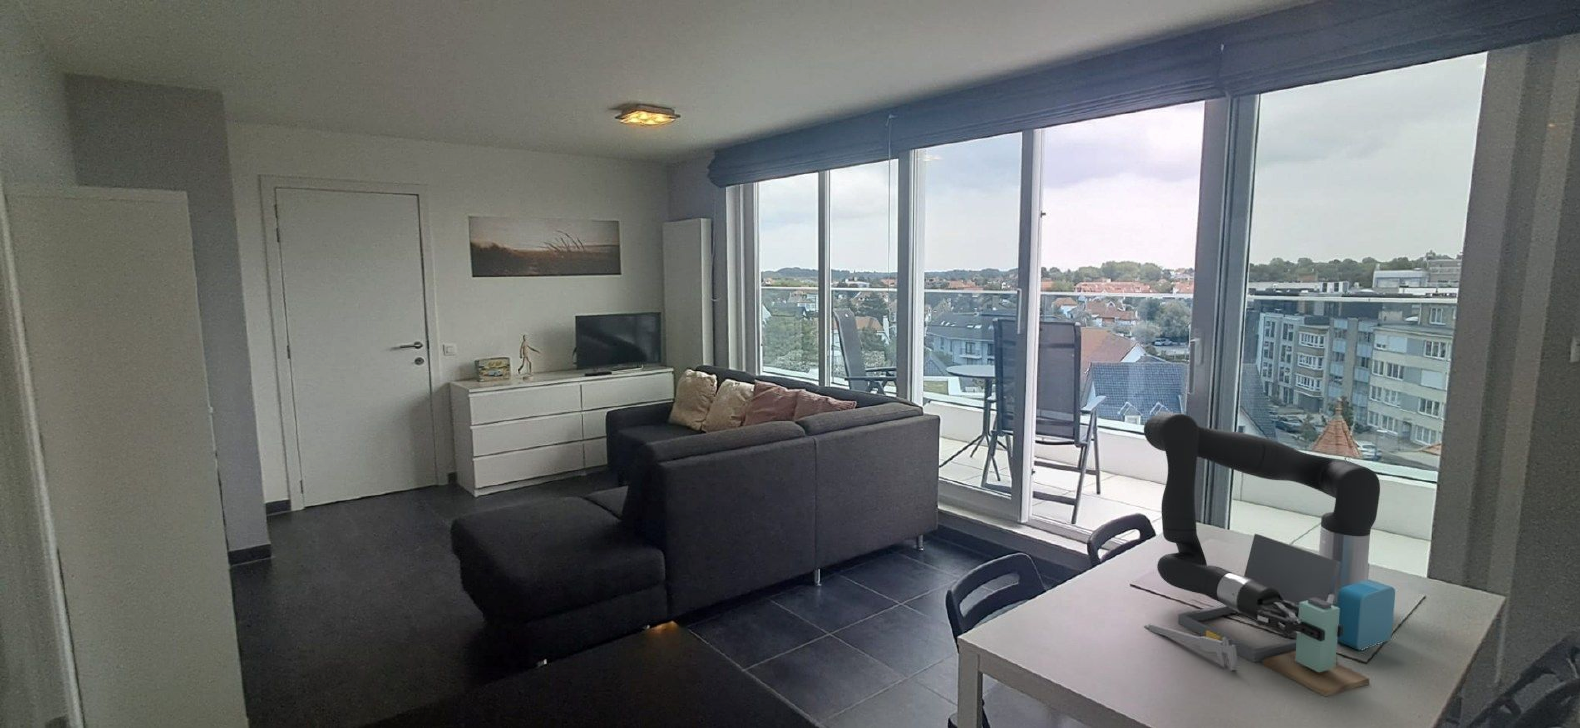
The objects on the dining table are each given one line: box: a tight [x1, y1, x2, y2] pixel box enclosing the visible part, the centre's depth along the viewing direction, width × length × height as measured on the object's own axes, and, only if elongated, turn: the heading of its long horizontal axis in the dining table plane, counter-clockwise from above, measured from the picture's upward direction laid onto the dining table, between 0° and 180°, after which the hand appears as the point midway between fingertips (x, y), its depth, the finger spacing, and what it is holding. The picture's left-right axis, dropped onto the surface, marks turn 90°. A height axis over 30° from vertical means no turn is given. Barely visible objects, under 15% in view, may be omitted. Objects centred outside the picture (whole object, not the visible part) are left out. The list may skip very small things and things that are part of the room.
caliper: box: [1143, 623, 1238, 672], centre depth 149 cm, size 20×1×6 cm, turn 24°
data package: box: [1336, 579, 1396, 651], centre depth 150 cm, size 12×4×12 cm, turn 114°
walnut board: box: [1262, 651, 1370, 697], centre depth 139 cm, size 12×12×1 cm
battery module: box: [1295, 597, 1340, 672], centre depth 138 cm, size 4×4×13 cm
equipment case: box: [1177, 533, 1341, 663], centre depth 154 cm, size 24×19×18 cm
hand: (1332, 633), depth 135 cm, fingers closed on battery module, 4 cm apart
